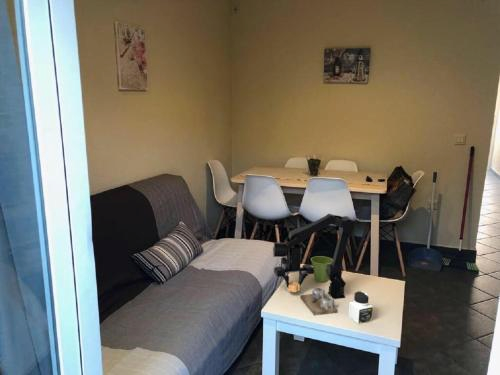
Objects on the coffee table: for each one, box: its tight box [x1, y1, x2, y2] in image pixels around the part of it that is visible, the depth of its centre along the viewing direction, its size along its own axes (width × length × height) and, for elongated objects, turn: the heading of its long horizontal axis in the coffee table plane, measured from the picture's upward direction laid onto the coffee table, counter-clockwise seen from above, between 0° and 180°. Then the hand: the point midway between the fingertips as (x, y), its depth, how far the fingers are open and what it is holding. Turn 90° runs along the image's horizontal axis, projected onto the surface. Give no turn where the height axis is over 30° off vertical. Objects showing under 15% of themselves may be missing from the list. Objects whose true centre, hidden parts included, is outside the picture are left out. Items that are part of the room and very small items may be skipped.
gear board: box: [299, 287, 338, 316], centre depth 188 cm, size 11×17×6 cm, turn 14°
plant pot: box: [310, 255, 333, 283], centre depth 216 cm, size 12×12×11 cm
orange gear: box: [286, 280, 301, 293], centre depth 197 cm, size 6×6×3 cm
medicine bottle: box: [348, 290, 373, 325], centre depth 176 cm, size 7×7×12 cm
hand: (293, 287), depth 197 cm, fingers closed on orange gear, 5 cm apart
